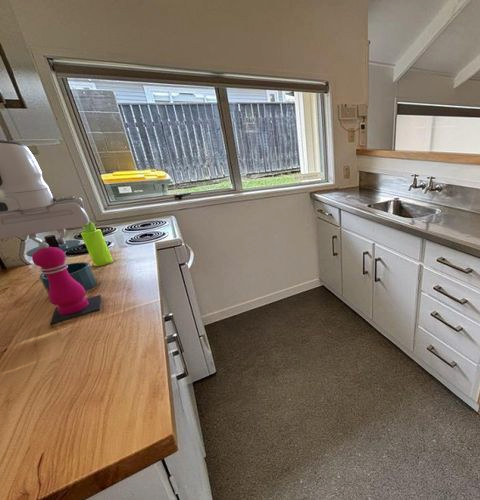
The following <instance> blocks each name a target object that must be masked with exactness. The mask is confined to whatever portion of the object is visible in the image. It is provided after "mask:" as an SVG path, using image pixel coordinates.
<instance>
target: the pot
mask: <svg viewBox="0 0 480 500" xmlns="http://www.w3.org/2000/svg"><path fill="white" fill-rule="evenodd" d="M67 265H68V267H67V271H68V273H69V274H70V276H71V277H72V278H73V279H74V280H76V281H77V282H78V283H80V284H81V285H82V286H83V287H84V289H85V291H86V292H88V291H90V290H92V289H94V288H95V287H96V286H97V285H98V281H97V279H96V276H95V274H94V272H93V269H92V268H91V264H90V262H89V263H88V262H86V261H85V262H84V261H79V262H71V263H67ZM39 279H40V281H41V283H42V286H43V287H44V289H45V291H46V293H47V295H48V296H49V287H50V285H49V280H48V278H47V276H46V274H43V273H42V272H41V273H40V275H39Z"/></svg>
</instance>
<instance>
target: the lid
mask: <svg viewBox="0 0 480 500" xmlns="http://www.w3.org/2000/svg"><path fill="white" fill-rule="evenodd" d="M57 238H58V237H57V236H56V234H49V235H45V236H43V239H44V241H46V243H47V244H48V245H49V247H56V248H59V249H61V250H62V251H63V252H64V253H67V252H69V251H71V250H73V249H76V248H78V247H79V246H81V245H82V242H81V240H80V239H69V240H65V242H66V243H65V244H61V245H58V242H57V241H56V239H57ZM39 249H41V248H39V246H37V247H36V246H35V247H33V248H31V249H29V250H27V251H26V252H25V253H26V256H27V257H31V258H32V256H33V254H34V253H35V252H36V251H37V250H39Z"/></svg>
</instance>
